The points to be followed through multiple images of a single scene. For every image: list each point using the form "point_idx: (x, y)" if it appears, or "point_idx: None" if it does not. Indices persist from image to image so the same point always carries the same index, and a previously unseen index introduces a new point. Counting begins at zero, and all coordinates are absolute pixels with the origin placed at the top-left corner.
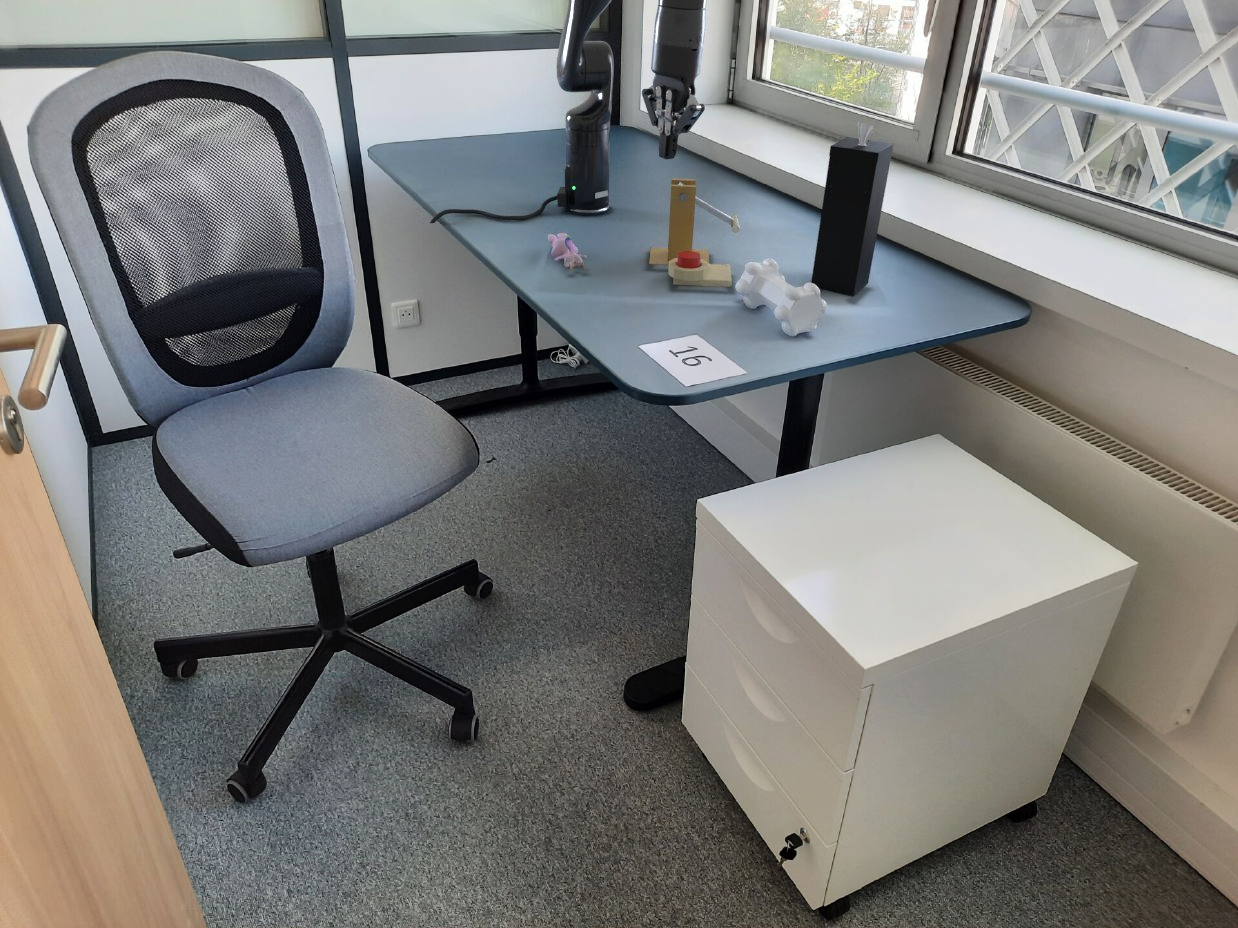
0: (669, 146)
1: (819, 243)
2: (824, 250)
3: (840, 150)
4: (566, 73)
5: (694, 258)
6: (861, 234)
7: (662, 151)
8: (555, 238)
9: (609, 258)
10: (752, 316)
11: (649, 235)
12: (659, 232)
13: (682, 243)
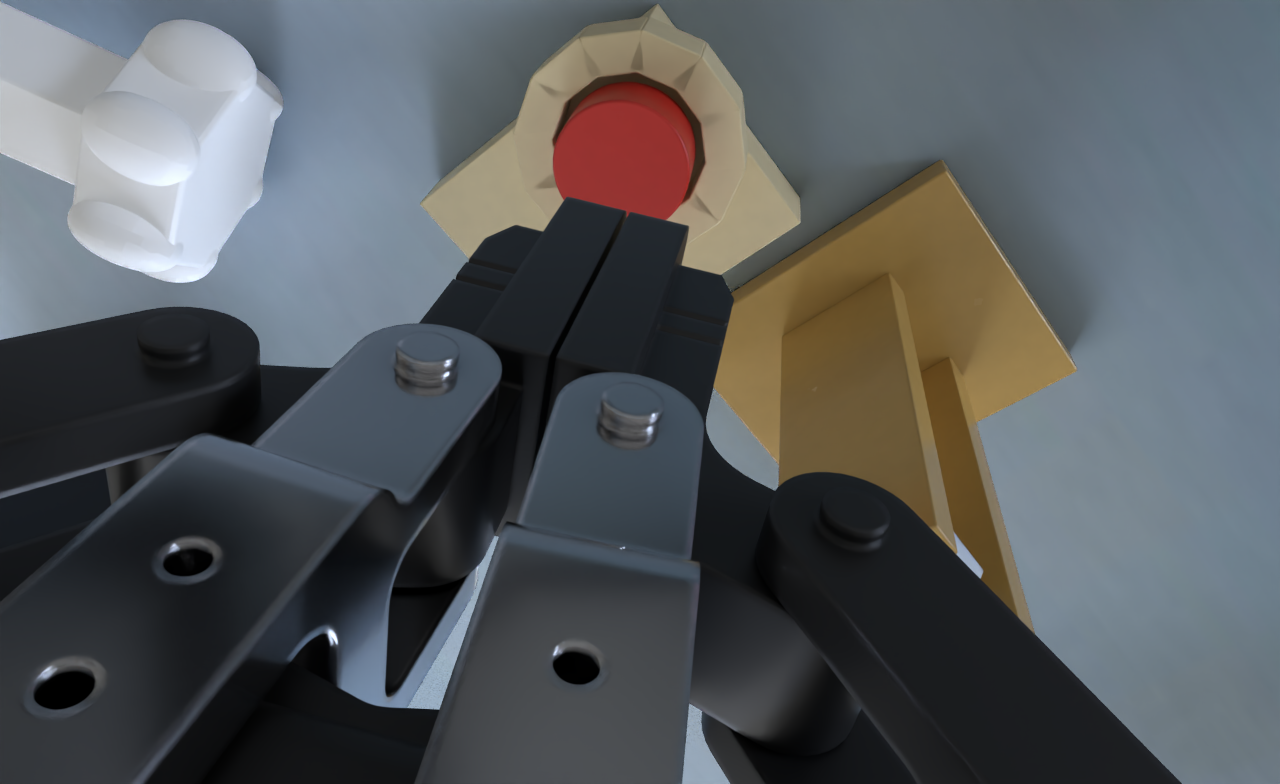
0: (475, 286)
1: None
2: (93, 516)
3: None
4: None
5: (558, 137)
6: None
7: (610, 240)
8: None
9: (1246, 154)
10: (173, 5)
11: (1213, 545)
12: (1186, 600)
13: (826, 357)
